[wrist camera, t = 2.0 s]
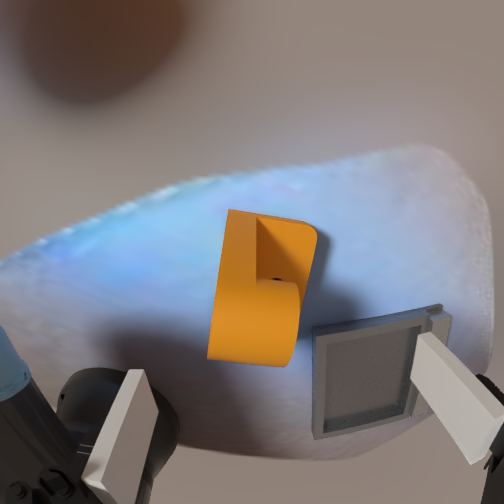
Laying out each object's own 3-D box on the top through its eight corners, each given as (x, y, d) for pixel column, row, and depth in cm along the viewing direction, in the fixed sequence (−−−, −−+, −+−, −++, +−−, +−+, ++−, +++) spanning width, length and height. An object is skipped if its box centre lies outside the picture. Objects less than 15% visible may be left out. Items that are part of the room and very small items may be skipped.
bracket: (287, 331, 30) (313, 417, 18) (212, 322, 29) (200, 408, 18) (311, 221, 27) (364, 261, 16) (228, 207, 27) (223, 239, 15)
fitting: (311, 430, 34) (315, 444, 31) (311, 327, 30) (317, 340, 27) (419, 403, 34) (427, 414, 32) (440, 303, 30) (452, 312, 28)
